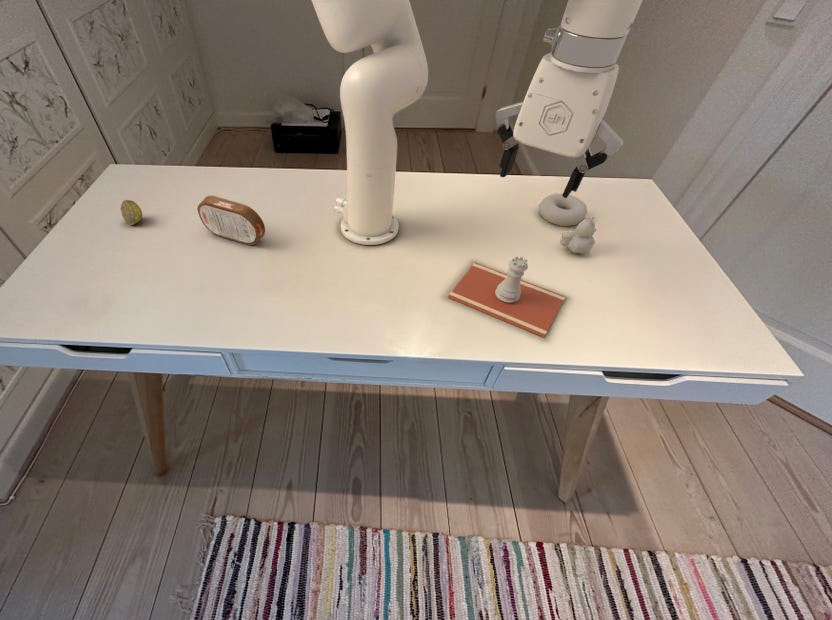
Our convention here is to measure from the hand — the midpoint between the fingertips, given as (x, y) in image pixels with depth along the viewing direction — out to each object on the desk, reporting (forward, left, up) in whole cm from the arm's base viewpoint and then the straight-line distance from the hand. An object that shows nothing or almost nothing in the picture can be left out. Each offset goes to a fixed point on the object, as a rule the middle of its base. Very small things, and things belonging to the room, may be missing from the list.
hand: (535, 183), depth 64 cm
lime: (-76, -25, -21) cm, 82 cm away
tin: (-53, -17, -21) cm, 59 cm away
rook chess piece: (+2, -2, -20) cm, 20 cm away
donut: (+2, +30, -21) cm, 37 cm away
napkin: (+2, -2, -21) cm, 21 cm away
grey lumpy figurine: (+8, +19, -21) cm, 30 cm away
